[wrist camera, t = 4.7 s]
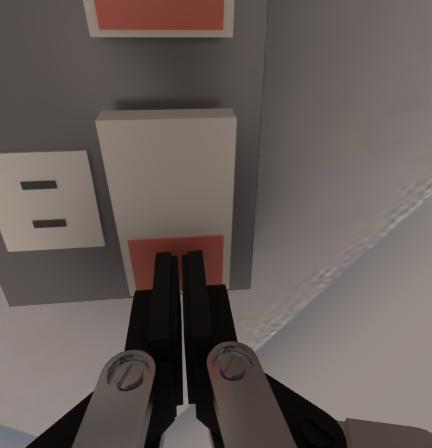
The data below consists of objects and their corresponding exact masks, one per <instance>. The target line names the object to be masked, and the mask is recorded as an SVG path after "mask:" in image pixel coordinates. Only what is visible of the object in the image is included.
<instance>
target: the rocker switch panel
mask: <svg viewBox="0 0 432 448" xmlns="http://www.w3.org/2000/svg"><path fill="white" fill-rule="evenodd" d="M267 15H268V0H235V1H234V22H233V37H90V33H89V28H88V23H87V18H86V13H85V8H84V3H83V0H0V284H1V287H2V289H3V292H4V294H5V297H6V299H7V301H8V304H9V306H24V305H37V304H51V303H64V302H78V301H91V300H105V299H118V298H132V297H134V296H130V293H129V288H128V283H127V278H126V273H125V268H124V263H123V258H122V253H121V248H120V243H119V238H118V233H117V228H116V223H115V218H114V213H113V208H112V203H111V198H110V193H109V188H108V183H107V178H106V173H105V168H104V163H103V158H102V153H101V148H100V143H99V138H98V133H97V128H96V123H95V120H96V118H97V117H98V115H99V114H100V112H101V111H115V110H165V109H216V108H232V109H233V111H234V113H235V115H236V117H237V127H236V149H235V171H234V192H233V214H232V236H231V257H230V279H229V289H227V290H240V289H250V285H251V269H252V253H253V238H254V222H255V206H256V190H257V174H258V158H259V142H260V126H261V110H262V95H263V79H264V63H265V47H266V31H267ZM180 294H183V292H181V293H180Z"/></svg>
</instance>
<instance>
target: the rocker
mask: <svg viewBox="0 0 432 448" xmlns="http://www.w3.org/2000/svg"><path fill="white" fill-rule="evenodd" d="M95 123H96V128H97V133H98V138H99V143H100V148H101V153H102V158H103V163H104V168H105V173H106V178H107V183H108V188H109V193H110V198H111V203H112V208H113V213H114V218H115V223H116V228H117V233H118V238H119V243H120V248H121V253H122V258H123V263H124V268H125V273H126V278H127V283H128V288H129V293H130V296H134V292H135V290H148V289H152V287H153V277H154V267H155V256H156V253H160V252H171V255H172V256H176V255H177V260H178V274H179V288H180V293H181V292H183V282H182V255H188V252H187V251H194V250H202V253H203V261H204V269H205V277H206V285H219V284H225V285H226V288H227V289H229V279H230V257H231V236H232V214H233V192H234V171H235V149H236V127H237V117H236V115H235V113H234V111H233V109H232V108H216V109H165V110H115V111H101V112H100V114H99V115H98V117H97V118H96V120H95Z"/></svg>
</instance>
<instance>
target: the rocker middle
mask: <svg viewBox="0 0 432 448" xmlns="http://www.w3.org/2000/svg"><path fill="white" fill-rule="evenodd" d="M234 1H235V0H83V3H84V8H85V13H86V18H87V23H88V28H89V33H90V37H233V22H234Z"/></svg>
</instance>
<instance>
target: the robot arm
mask: <svg viewBox="0 0 432 448" xmlns="http://www.w3.org/2000/svg"><path fill="white" fill-rule="evenodd" d="M187 252H188V255H182V282H183V319H184V345H185V359H186V374H187V388H188V403H189V404H196V418H197V419H198V420H199V421H201V422H202V423H203V424H204V425H205V426H206V427H208V429H209V437H210V441H211V446H212V448H432V433H430V432H428V431H427V430H424V429H421V428H417V427H411V426H403V425H395V424H388V423H381V422H372V421H365V420H358V419H350V418H346V420H345V422H344V421H337V420H335V419H334V418H333V417H331V416H330V415H329V414H328V413H326V412H325V411H323V410H321V409H320V408H318V407H317V406H315V405H314V404H312V403H311V402H309V401H308V400H306V399H305V398H303V397H302V396H300V395H298V394H297V393H295V392H294V391H292V390H290V389H289V388H288V387H286V386H285V385H283V384H282V383H280V382H278V381H277V380H275V379H274V378H272V377H271V376H269V375H268V374H266V373H264V371H263V369H262V367H261V364H260V362H259V360H258V358H257V356H256V354H255V353H254V351H253V350H252V349H251V348H250V347H248V346H247V345H245V344H243V343H240V342H237V337H236V332H235V327H234V322H233V318H232V313H231V308H230V303H229V298H228V293H227V288H226V285H225V284H219V285H206V277H205V269H204V261H203V253H202V250H194V251H187ZM177 405H183V371H182V320H181V302H180V288H179V274H178V260H177V255H176V256H172V255H171V252H160V253H156V256H155V267H154V277H153V287H152V289H148V290H135V292H134V297H133V303H132V309H131V315H130V321H129V327H128V333H127V339H126V345H125V351H124V352H121V353H119V354H117V355H116V356H114V357H112V358H111V359H110V360H109V361H108V362H107V363H106V365H105V366H104V368H103V370H102V372H101V375H100V377H99V380H98V382H97V385H96V387H95V390H94V391H93V392H92V393H91V394H90V395H88V396H87V397H86V398H85V399H84V400H82V401H81V402H80V403H79V404H77V405H76V406H75V407H74V408H73V409H71V410H70V411H69V412H68V413H67V414H65V415H64V416H63V417H62V418H61V419H59V420H58V421H57V422H56V423H55V424H53V425H52V426H51V427H50V428H48V429H47V430H46V431H45V432H44V433H42V434H41V435H40V436H39V437H38V438H36V439H35V440H34V441H33V442H32V443H30V444H29V445H28V446H27V447H26V448H163V444H164V432H165V430H166V429H167V428H168V427H169V426H170V425H171V424H172V423H173V422H174V421H175V417H177Z"/></svg>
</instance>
